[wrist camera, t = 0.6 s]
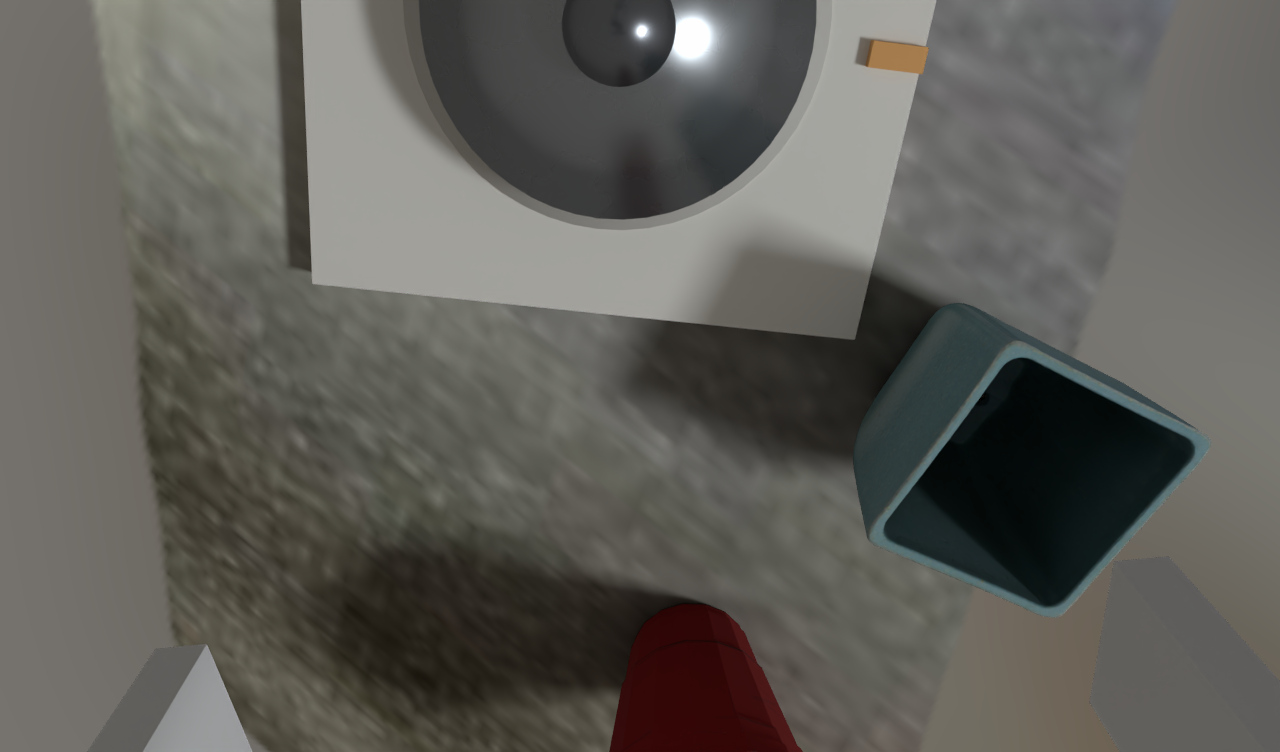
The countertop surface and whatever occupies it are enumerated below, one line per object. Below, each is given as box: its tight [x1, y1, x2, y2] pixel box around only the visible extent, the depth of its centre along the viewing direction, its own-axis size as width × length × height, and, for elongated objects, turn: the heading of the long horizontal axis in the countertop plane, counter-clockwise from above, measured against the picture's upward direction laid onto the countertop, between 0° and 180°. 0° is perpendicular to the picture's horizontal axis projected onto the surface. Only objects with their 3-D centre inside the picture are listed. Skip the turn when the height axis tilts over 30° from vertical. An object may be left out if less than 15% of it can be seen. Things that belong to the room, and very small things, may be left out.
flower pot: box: [853, 303, 1211, 618], centre depth 34 cm, size 9×9×9 cm
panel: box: [301, 0, 936, 340], centre depth 31 cm, size 22×22×2 cm
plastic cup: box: [609, 604, 803, 752], centre depth 39 cm, size 11×11×12 cm
